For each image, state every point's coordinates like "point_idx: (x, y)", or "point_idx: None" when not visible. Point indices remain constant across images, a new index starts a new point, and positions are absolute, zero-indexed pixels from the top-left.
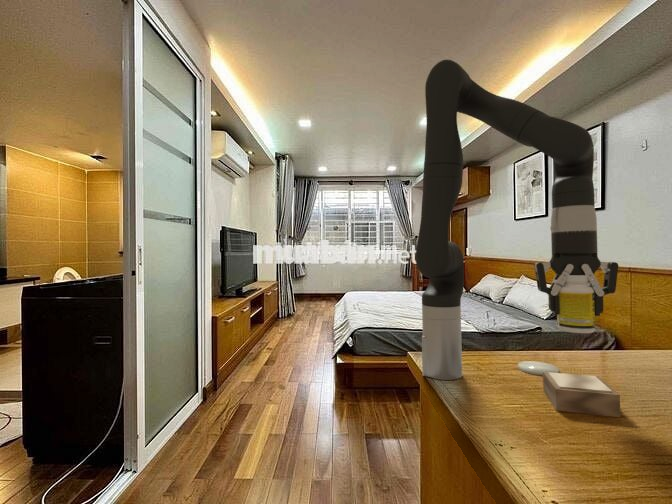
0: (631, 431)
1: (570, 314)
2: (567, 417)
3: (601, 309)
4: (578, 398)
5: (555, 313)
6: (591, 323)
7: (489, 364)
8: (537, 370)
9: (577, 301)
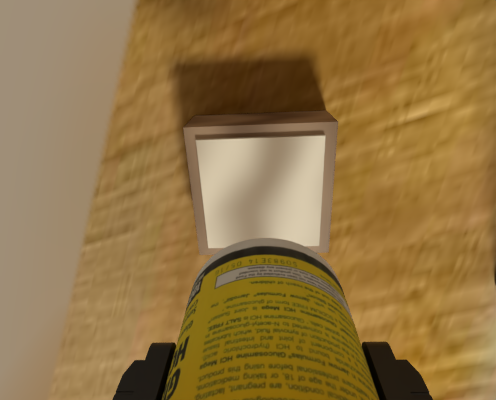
0: (191, 38)
1: (319, 307)
2: (312, 74)
3: (131, 379)
4: (279, 120)
5: (385, 342)
6: (210, 277)
7: (398, 355)
8: None
9: (289, 381)
